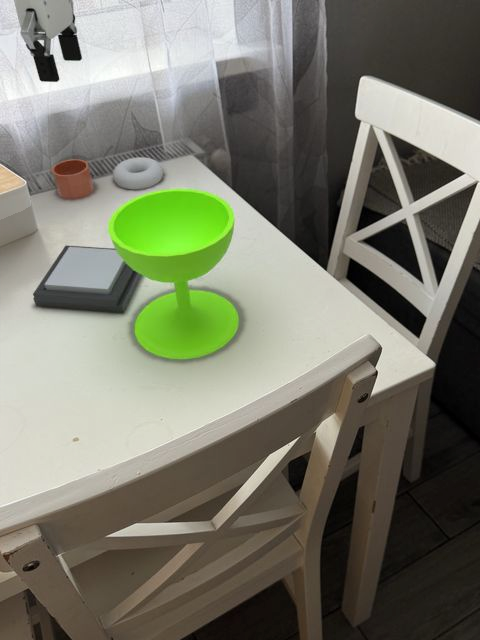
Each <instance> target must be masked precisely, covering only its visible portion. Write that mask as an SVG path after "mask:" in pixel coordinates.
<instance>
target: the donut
mask: <svg viewBox="0 0 480 640" xmlns="http://www.w3.org/2000/svg"><path fill="white" fill-rule="evenodd" d="M163 176H164V169H163V166H162V165H161V163H159V161H157V160H155V159H153V158H150V157H140V156H139V157H131V158H129V159H125V160H123V161H120V162H119V163H118V164H117V165H116V166H115V167H114V169H113V171H112V177H113V181H114V182H115V183H116V185H117V186H119V188H120V187H121V188H122V189H125V190H129V191H130V190H133V191H134V190H135V191H136V190H137V191H138V190H146V189H149V188H153V187H154V186H156V185H158V184H159V183H160V182H161V181H162V180H163Z"/></svg>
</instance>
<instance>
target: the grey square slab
mask: <svg viewBox="0 0 480 640" xmlns="http://www.w3.org/2000/svg"><path fill="white" fill-rule="evenodd" d="M125 266H126V263H125V261H124V260H123V259H122V258H121V257H120V255H119V254H118V253H117V251H116V250H111V249H95V248H80V247H69V248H68V250H67V251H66V253H65V254H64V256H63V257H62V259H61V260H60V262H59V263H58V265H57V266H56V268H55V269H54V271H53V272H52V274H51V275H50V277H49V278H48V280H47V281H46V283H45V287H46V290H52V291H66V292H79V293H93V294H106V295H111V293H112V291H113V289H114V287H115V285H116V283H117V281H118V279H119V277H120V276H121V274H122V272H123V270H124V268H125Z"/></svg>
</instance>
